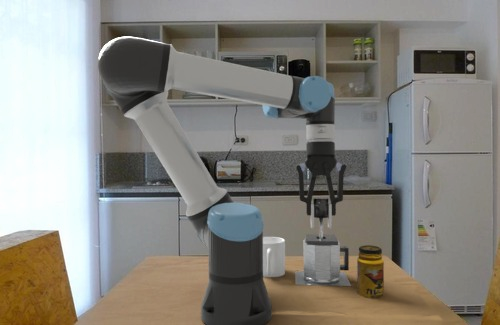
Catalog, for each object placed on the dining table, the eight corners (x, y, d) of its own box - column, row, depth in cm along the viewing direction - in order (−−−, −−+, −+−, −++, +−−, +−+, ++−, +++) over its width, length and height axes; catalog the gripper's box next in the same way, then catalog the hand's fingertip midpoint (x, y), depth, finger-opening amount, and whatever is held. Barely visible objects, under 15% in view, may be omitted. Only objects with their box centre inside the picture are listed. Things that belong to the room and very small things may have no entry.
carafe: (304, 283, 96) (303, 241, 95) (302, 271, 105) (302, 233, 105) (351, 284, 94) (350, 242, 94) (345, 272, 104) (345, 234, 104)
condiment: (382, 305, 84) (381, 252, 83) (345, 298, 88) (344, 248, 88) (388, 294, 90) (387, 245, 90) (353, 288, 94) (353, 241, 94)
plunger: (308, 271, 97) (308, 200, 96) (307, 263, 104) (306, 196, 103) (336, 272, 96) (336, 200, 95) (333, 264, 103) (332, 196, 103)
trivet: (295, 287, 95) (295, 284, 95) (295, 273, 106) (295, 271, 106) (351, 289, 94) (351, 285, 94) (344, 274, 105) (344, 272, 105)
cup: (285, 270, 109) (284, 236, 109) (284, 285, 97) (284, 247, 97) (257, 270, 110) (256, 236, 109) (253, 284, 98) (253, 246, 98)
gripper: (288, 141, 96) (289, 230, 97) (355, 140, 94) (355, 230, 95) (288, 141, 104) (289, 224, 104) (350, 141, 102) (350, 225, 102)
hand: (321, 227), depth 100 cm, fingers closed on plunger, 4 cm apart
